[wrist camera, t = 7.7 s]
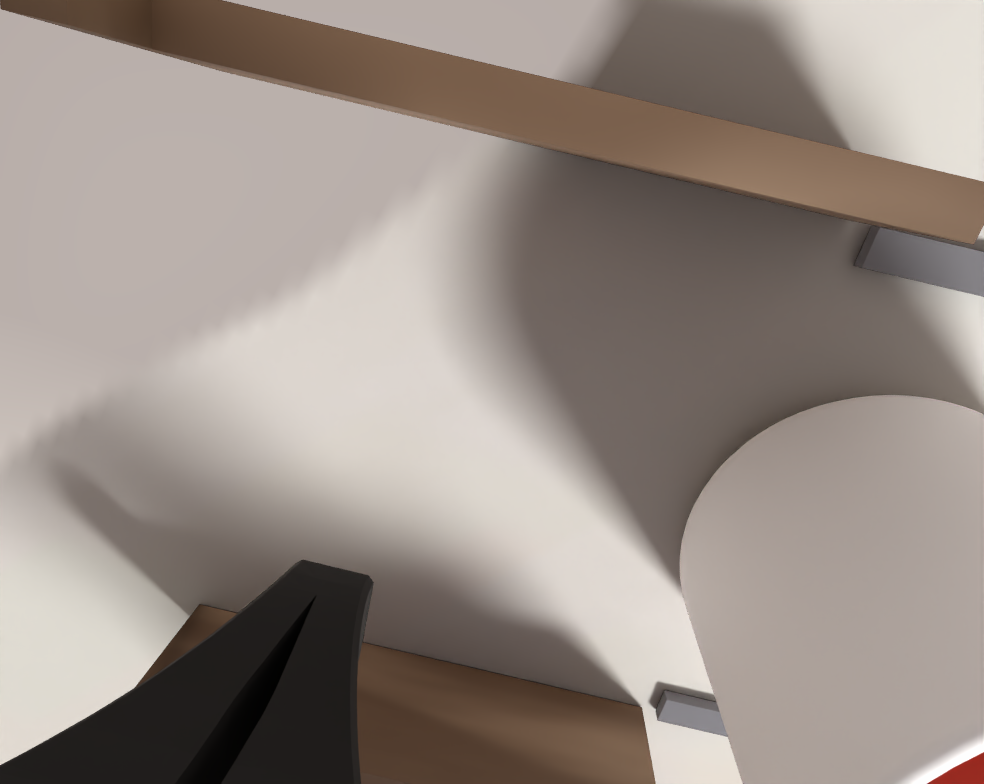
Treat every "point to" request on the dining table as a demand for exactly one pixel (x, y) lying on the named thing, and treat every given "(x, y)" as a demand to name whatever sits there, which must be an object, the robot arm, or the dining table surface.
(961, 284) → the bracket
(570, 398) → the dining table surface
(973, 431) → the cup
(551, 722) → the wooden pieces
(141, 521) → the dining table surface
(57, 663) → the dining table surface
